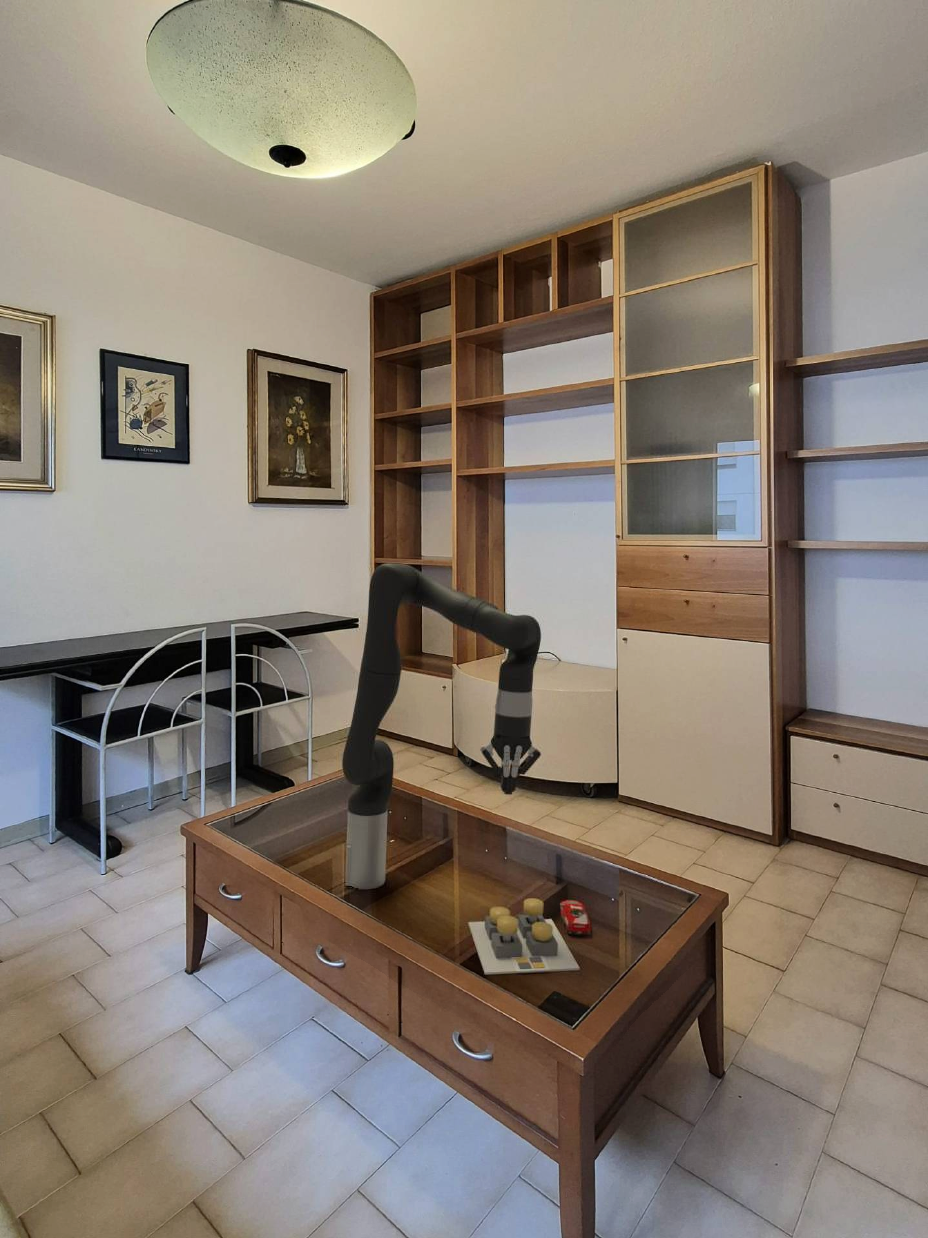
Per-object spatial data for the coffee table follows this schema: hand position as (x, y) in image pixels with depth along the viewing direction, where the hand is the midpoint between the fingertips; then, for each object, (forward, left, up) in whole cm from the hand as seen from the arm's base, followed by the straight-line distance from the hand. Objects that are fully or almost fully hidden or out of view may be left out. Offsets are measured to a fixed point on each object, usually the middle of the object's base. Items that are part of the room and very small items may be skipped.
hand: (507, 793), depth 147 cm
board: (+2, -9, -28) cm, 29 cm away
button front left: (-2, -12, -26) cm, 28 cm away
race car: (+16, -1, -28) cm, 32 cm away
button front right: (+5, -12, -27) cm, 30 cm away
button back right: (+5, -5, -26) cm, 27 cm away
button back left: (-2, -5, -27) cm, 28 cm away
